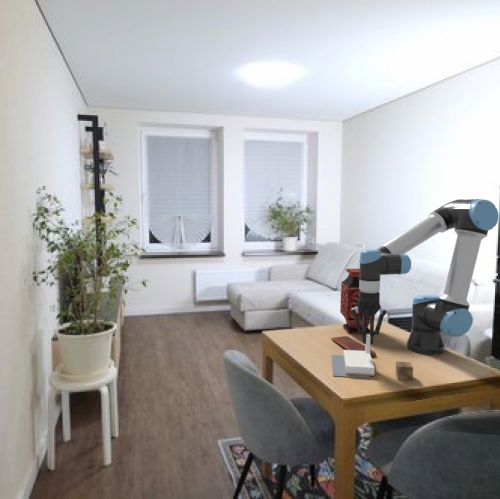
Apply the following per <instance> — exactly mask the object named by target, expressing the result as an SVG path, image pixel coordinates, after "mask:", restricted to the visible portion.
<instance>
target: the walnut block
mask: <svg viewBox="0 0 500 499" xmlns="http://www.w3.org/2000/svg"><path fill="white" fill-rule="evenodd" d="M394 374H395V377H396V379H397V381H410V382H413V380H414V379H413V377H414V366H413V365H412V363H411V362H409V361H395V373H394Z"/></svg>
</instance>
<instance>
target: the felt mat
mask: <svg viewBox="0 0 500 499" xmlns="http://www.w3.org/2000/svg"><path fill="white" fill-rule="evenodd" d="M331 363H332V364H331V365H332V366H331V367H332V377H339V378H355V379H371V376H368V375H351V374H346V372H345V365H344V358H343V354H341V355H340V354H331Z"/></svg>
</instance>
